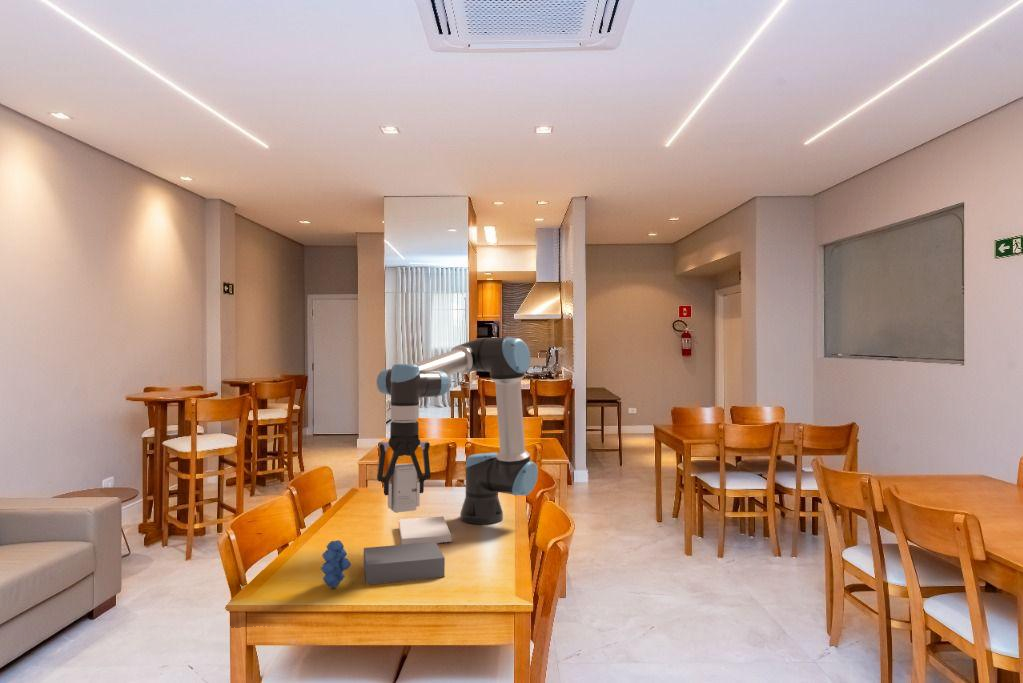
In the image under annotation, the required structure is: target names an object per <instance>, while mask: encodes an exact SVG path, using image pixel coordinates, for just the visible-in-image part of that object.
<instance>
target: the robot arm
mask: <svg viewBox="0 0 1023 683" xmlns="http://www.w3.org/2000/svg"><path fill="white" fill-rule="evenodd" d="M530 364H531V353H530V349H529V346H527V344H526V342H525V341H523V339H521V338H517V337H511V336H508V337H506V336H505V337H480V338H477V339H474V340H470V341H467V342H464V343H462V344H459V345H455V346H453V347H452V349H451V350H450V351H447V352H445V353H440V354H439V355H435V356H432V357H430V358H425V359H423V360H421V361H417V362H414V363H396V364H393V365H391V366H392V367H391V368H389V369H383V370H381V371H380V372H379V374H377V378H376V386H377V389H378V391H379V392H380V393H381V394H383V395H389V396H390V420H391V421H390V431H389V432H390V434H389V439H388V441H386V442H383V443H382V442H380V443H379V444H378V449H379V456H378V457H379V458H378V465H377V475H376V480H377V481H378V482H381V483H383V494H384V496H387V507H388V508H387V509H390V508H391V504H392V483H391V475H392V472H393V470H394V467H395V465H397V462H398V459H399V457H403V456H409V457H410V458H411V461H412V462H411V463H412V464H414V466H415V469H416V471H417V503H416V508H418V507H420V502H421V501H420V499H421V498H420V497H421V496H420V495H421V494H423V493H424V489H425V488H424V486H425V485H424V484H425V481H426V480H429V479H431V466H430V457H429V449H430V445H431V444H430V442H429V441H421V439H420V437H419V432H420V431H419V425H420V423H419V422H418V420H419V419H420V418H419V417H420V414H419V413H420V411H419V410H420V408H419V407H420V406H419V405H420V398H431V397H432V398H433V397H434V398H437V397H441V396H444V395H446V394H447V393H448V390H449V389H450V376H452V375H454V374H457V373H459V374H466V373H468V372H488V373H489V376H490V377H489V378H490V380H491V381H492V382H494V384H495V397H496V398H495V400H496V411H497V424H498V425H497V426H498V428H497V429H498V438H499V440H498V441H499V452H483V453H481V452H480V453H474V454H471V455H468V456H467V457H466V461H465V467H464V468H465V497H464V500H463V504H462V507H461V510H460V517H459V519H460V521H461V522H463V521H464V523H466V522H467V524H471V523H473V524H472V525H488V524H489V523H492V524H496V523H499V522H501V521H503V519H504V513H503V512H504V511H503V508H502V505H501V502H500V499H499V493H502V494H505V495H507V494H508V495H513V496H516V497H517V496H522V497H523V496H524V497H525V496H527V495H529V494H531V493H532V491H533V490H534V488H535V486H536V484H537V481H538V478H539V477H538V475H539V469H538V466H537V464H536V463H535V462H534V461H531V455H530V453H529V452H528V451H527V450H526V446H525V443H526V442H525V429H524V417H523V416H524V415H523V403H522V402H523V400H522V387H521V382H522V380H523V379H524V378H525V372H528V370H529V368H530ZM419 446H420V449H421V450H422V457H423V468H424V469H423V470H424V471H423V472H424V474H423V472H422V470H421V467H420V463H419V461H418V459H417V455H416V451H417V449H418V447H419ZM389 447H390V449H391V450H392V451H393V453H392V456H391V458H390V462H389V464H388V467H387V469H386V473H385V474H384V468H385V458H386V451H388V448H389ZM383 475H384V476H383ZM495 522H496V523H495ZM489 525H490V524H489Z"/></svg>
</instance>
